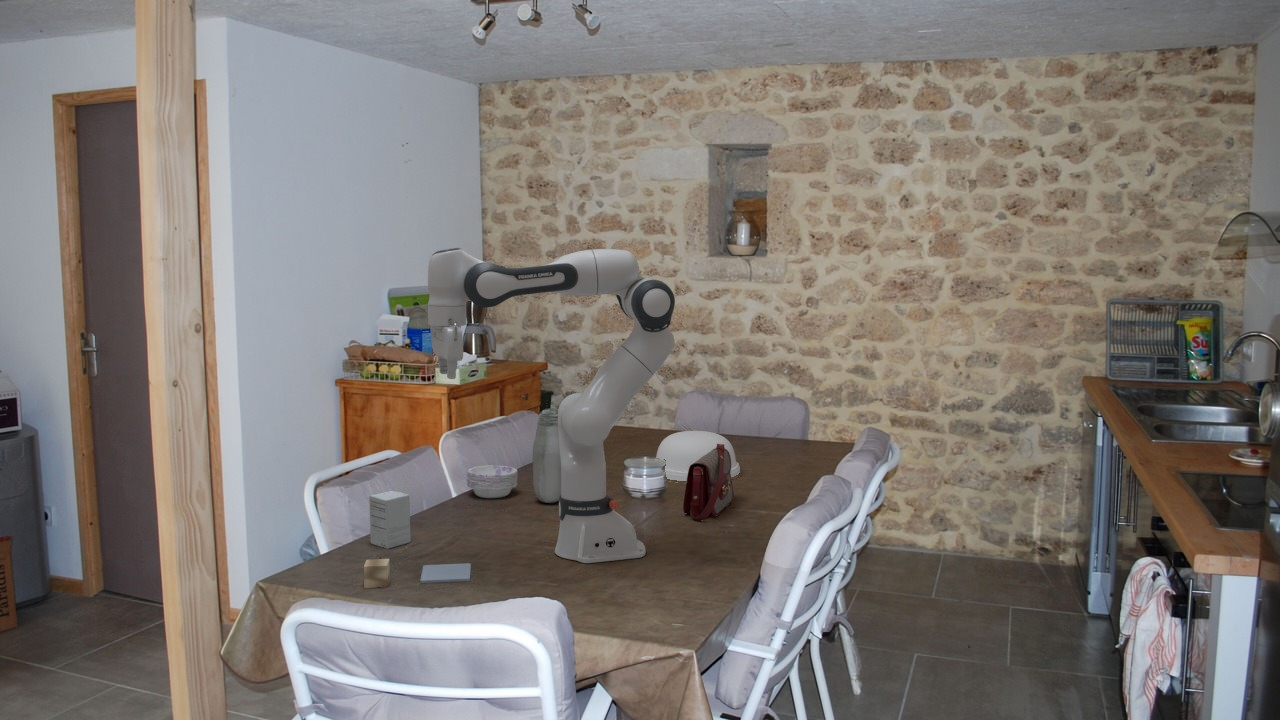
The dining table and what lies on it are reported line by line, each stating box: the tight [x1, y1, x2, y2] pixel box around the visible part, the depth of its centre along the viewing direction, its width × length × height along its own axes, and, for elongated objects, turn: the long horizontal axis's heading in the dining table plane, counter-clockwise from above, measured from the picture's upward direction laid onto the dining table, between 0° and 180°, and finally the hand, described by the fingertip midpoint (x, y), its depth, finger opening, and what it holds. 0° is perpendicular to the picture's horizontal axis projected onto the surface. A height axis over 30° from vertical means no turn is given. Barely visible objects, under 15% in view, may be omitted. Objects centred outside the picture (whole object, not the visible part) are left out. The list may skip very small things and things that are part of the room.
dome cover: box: [655, 430, 741, 481], centre depth 331 cm, size 32×30×14 cm
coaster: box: [419, 562, 472, 584], centre depth 228 cm, size 11×11×1 cm
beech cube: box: [363, 558, 391, 589], centre depth 221 cm, size 5×5×5 cm
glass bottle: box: [532, 407, 561, 504], centre depth 292 cm, size 10×10×28 cm
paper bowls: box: [466, 464, 518, 499], centre depth 301 cm, size 15×15×8 cm
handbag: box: [682, 444, 734, 521], centre depth 284 cm, size 28×11×17 cm, turn 160°
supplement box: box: [368, 490, 411, 550], centre depth 251 cm, size 7×7×13 cm
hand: (447, 376), depth 233 cm, fingers open, 8 cm apart
